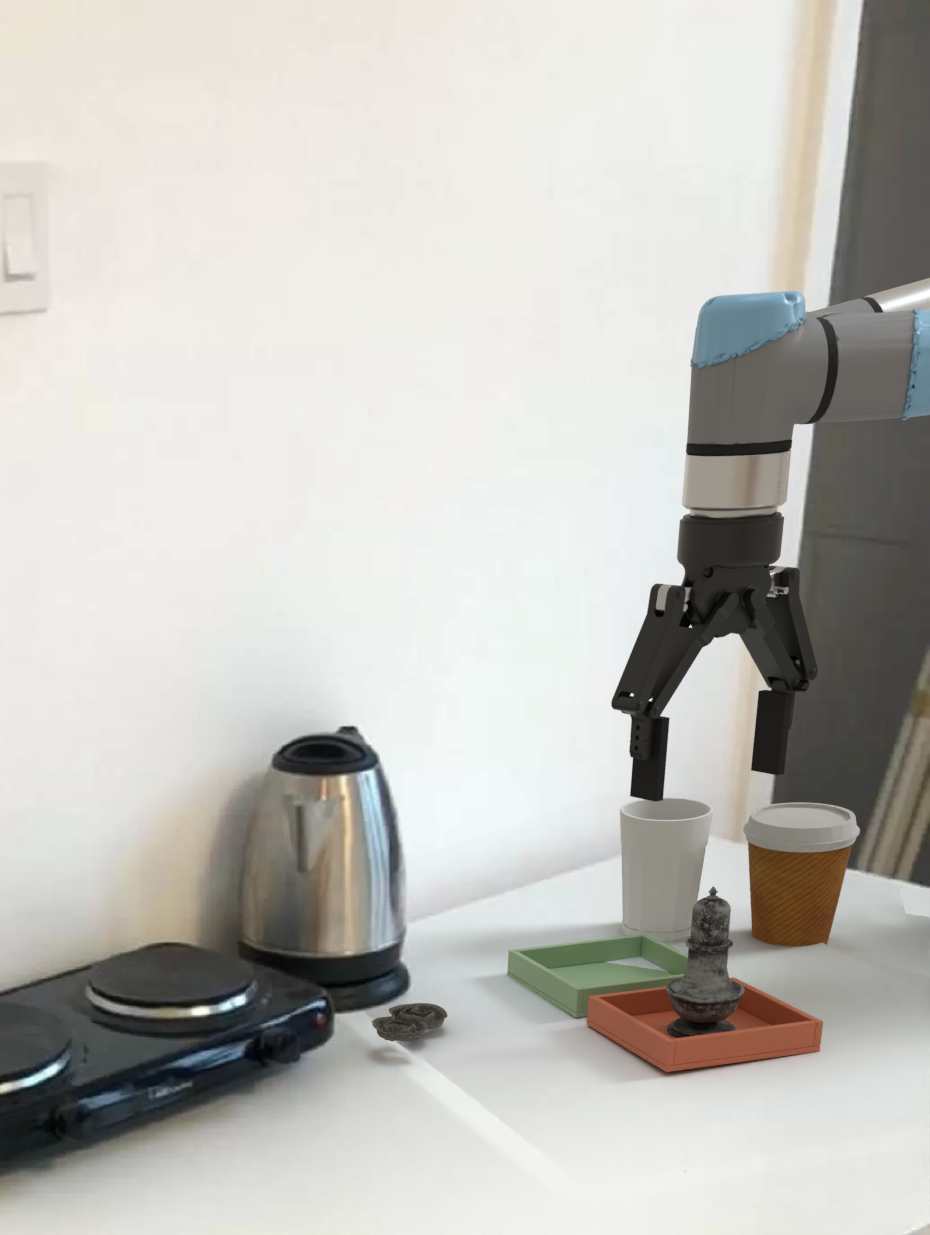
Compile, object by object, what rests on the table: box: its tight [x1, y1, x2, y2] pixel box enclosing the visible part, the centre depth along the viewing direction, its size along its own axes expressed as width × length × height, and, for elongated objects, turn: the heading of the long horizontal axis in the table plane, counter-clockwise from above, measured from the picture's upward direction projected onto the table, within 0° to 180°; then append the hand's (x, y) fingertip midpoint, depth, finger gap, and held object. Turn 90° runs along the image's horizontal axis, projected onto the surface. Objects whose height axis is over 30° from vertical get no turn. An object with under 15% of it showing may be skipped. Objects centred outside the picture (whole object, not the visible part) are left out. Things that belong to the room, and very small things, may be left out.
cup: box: [619, 797, 714, 942], centre depth 187 cm, size 8×8×12 cm
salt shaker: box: [666, 886, 745, 1038], centre depth 161 cm, size 6×6×12 cm
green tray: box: [506, 934, 688, 1019], centre depth 176 cm, size 13×12×2 cm
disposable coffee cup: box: [742, 801, 861, 947], centre depth 182 cm, size 10×10×12 cm
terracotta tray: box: [586, 977, 824, 1073], centre depth 163 cm, size 13×12×2 cm
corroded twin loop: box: [371, 1002, 448, 1042], centre depth 169 cm, size 5×8×1 cm, turn 140°
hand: (707, 785), depth 165 cm, fingers open, 13 cm apart
